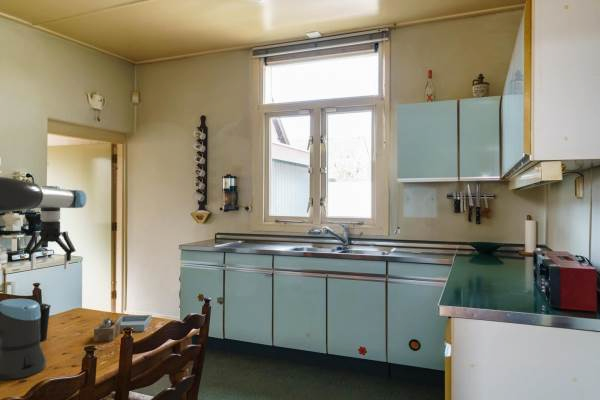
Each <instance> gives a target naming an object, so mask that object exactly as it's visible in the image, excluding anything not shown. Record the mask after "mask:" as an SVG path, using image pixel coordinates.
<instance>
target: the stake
mask: <svg viewBox="0 0 600 400" xmlns="http://www.w3.org/2000/svg"><path fill="white" fill-rule="evenodd" d="M102 322H103V328H110V327H111V320H110V317H109V316H108V317H105V318H104V319H103V321H102Z"/></svg>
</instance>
